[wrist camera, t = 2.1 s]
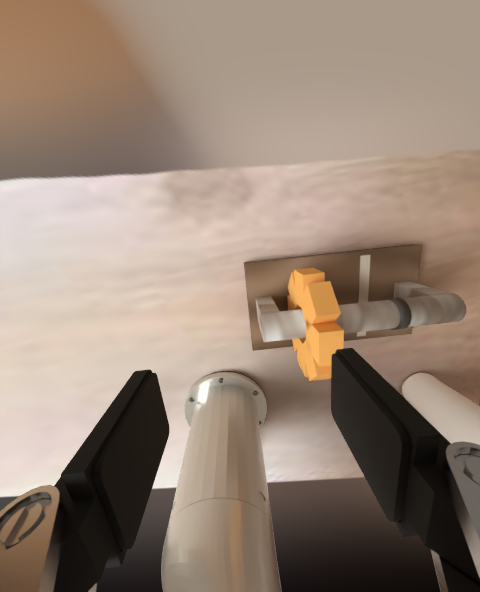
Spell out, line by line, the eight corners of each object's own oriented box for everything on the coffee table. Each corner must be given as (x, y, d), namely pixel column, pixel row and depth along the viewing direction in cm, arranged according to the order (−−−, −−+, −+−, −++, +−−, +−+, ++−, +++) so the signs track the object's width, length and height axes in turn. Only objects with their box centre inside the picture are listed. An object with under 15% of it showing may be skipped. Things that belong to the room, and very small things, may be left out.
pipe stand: (403, 329, 32) (466, 365, 24) (252, 345, 32) (258, 387, 24) (412, 244, 29) (490, 249, 20) (243, 262, 29) (248, 275, 20)
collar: (304, 343, 30) (341, 403, 20) (289, 345, 30) (319, 405, 20) (302, 262, 27) (345, 281, 17) (285, 264, 27) (318, 284, 17)
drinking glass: (388, 400, 36) (493, 514, 21) (404, 363, 34) (529, 460, 20) (428, 405, 36) (556, 520, 22) (445, 369, 34) (597, 468, 20)
